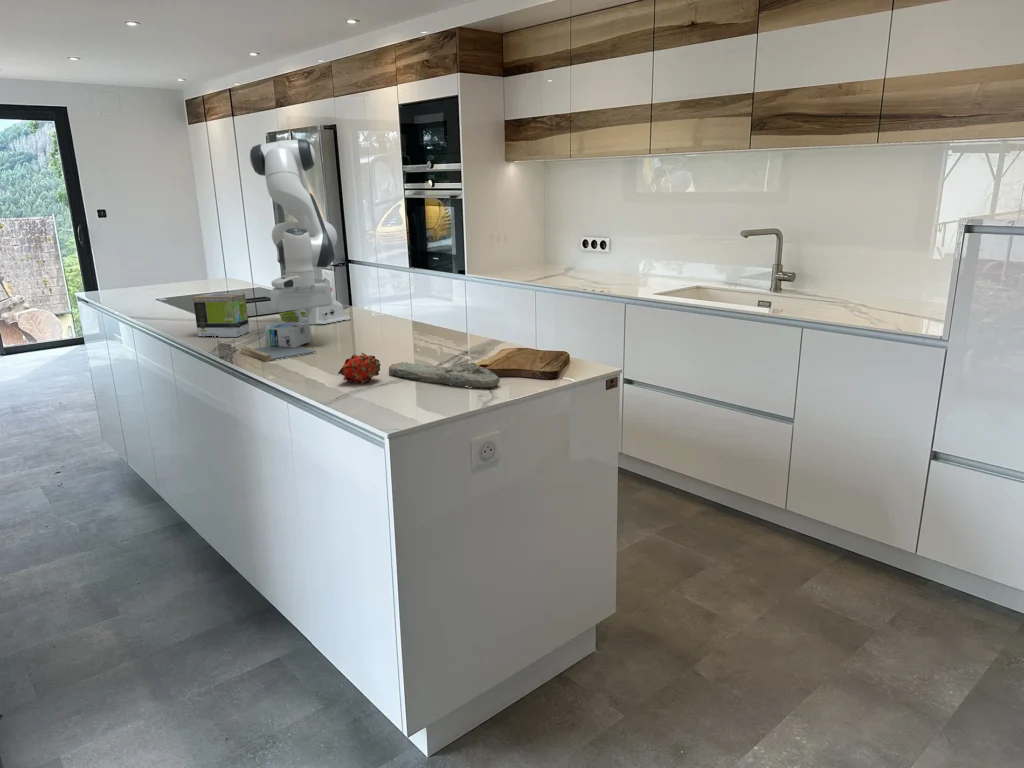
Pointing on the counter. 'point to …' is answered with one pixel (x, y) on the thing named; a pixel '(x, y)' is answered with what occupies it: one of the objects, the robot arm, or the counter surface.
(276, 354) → the mat
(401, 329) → the counter surface
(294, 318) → the plant pot
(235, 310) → the tea box
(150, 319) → the counter surface
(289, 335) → the light bulb box
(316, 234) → the robot arm
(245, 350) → the strip
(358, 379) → the dragon fruit
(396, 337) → the counter surface
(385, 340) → the counter surface
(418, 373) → the elongated rock
